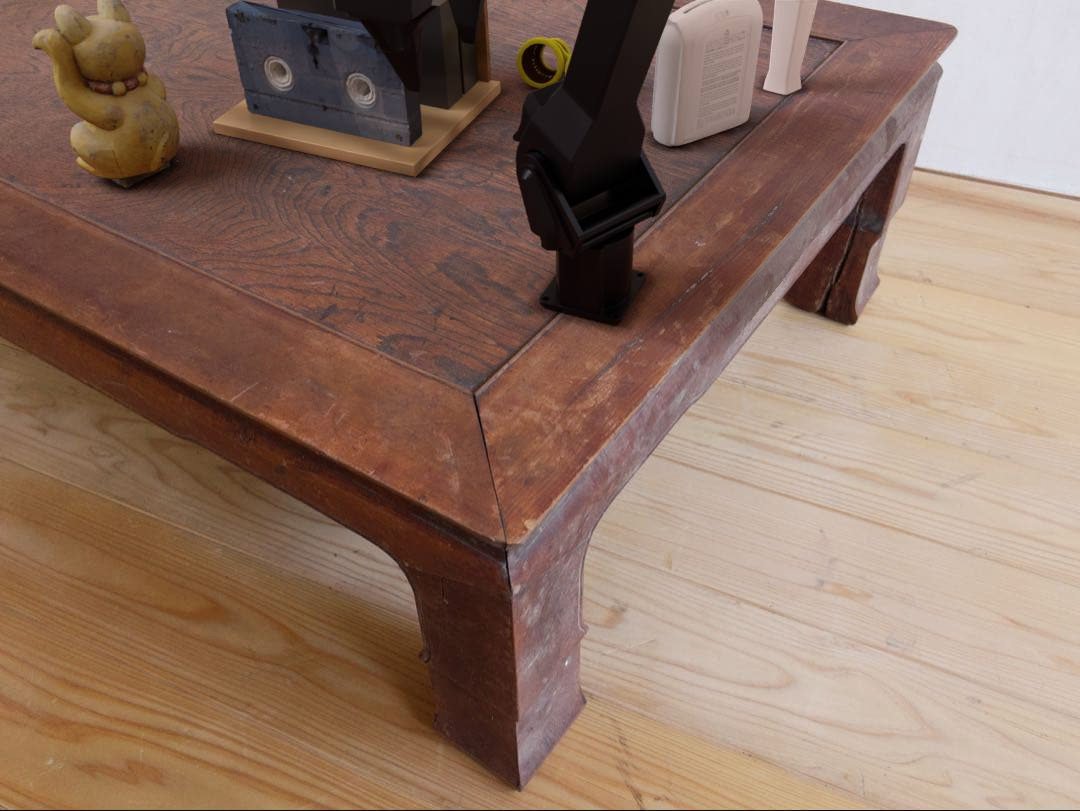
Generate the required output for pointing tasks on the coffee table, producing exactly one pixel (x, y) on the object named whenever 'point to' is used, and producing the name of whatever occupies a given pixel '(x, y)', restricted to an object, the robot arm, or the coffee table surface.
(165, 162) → the decorative figurine
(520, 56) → the yellow hollow cylinder
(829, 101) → the coffee table surface
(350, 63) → the vhs cassette tape
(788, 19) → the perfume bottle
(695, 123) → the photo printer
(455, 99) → the tape rack
